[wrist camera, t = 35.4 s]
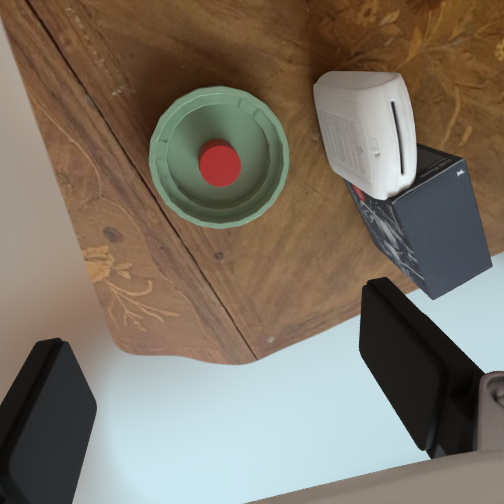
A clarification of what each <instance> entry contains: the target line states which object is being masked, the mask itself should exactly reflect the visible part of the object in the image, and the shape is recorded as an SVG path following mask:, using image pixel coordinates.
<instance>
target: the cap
mask: <svg viewBox="0 0 504 504" xmlns="http://www.w3.org/2000/svg"><path fill="white" fill-rule="evenodd" d="M198 159H199V170H200V172H201V175H202V177H203V178H204V179H205V181H206V182H208V183H209V184H211V185H213V186H216V187H225V186H228V185H230V184H232V183H233V182H234V181H235V180H236V179H237V178H238V176H239V174H240V171H241V161H240V158H239V156H238V155H237V152H236V150H235V149H234V147H232V146H231V144H229V142H227V141H225V140H222V139H213V140H210V141H208V142H206V143H205V144H204V145H203V146H202V147H201V148H200V152H199V155H198Z"/></svg>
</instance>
